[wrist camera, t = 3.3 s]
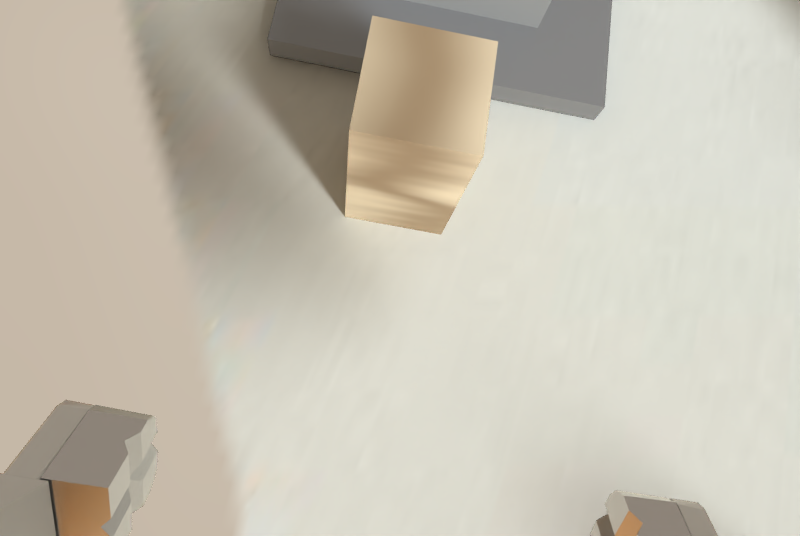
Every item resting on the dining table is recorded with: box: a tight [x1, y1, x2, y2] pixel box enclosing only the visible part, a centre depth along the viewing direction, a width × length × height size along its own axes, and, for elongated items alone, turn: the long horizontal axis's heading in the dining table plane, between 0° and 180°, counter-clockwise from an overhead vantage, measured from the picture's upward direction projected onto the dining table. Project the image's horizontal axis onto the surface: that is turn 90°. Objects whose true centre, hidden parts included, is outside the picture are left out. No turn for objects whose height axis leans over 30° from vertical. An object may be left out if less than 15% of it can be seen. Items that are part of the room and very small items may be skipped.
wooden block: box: [345, 16, 498, 234], centre depth 24 cm, size 4×4×8 cm
